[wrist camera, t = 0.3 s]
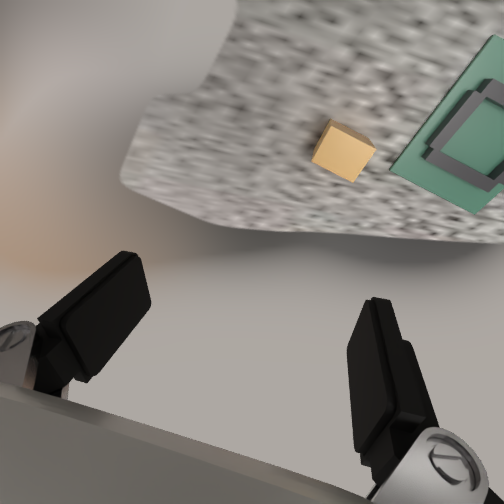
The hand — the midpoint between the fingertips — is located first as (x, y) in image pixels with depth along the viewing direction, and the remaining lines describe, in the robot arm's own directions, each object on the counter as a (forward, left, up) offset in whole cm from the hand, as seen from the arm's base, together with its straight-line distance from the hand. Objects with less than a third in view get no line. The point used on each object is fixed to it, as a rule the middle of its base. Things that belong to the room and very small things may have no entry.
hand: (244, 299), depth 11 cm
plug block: (-2, +5, -34) cm, 34 cm away
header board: (-10, +20, -34) cm, 40 cm away
